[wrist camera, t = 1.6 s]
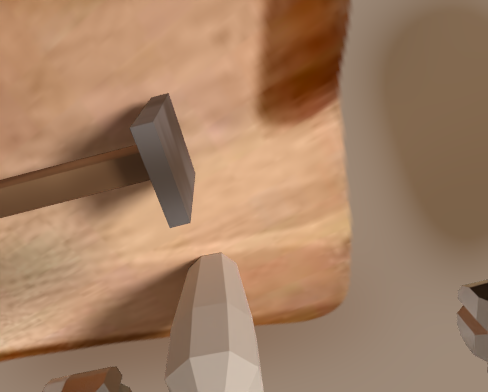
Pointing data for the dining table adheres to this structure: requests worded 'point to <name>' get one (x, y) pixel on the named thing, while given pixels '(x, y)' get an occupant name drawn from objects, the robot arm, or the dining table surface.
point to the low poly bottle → (213, 332)
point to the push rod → (117, 170)
